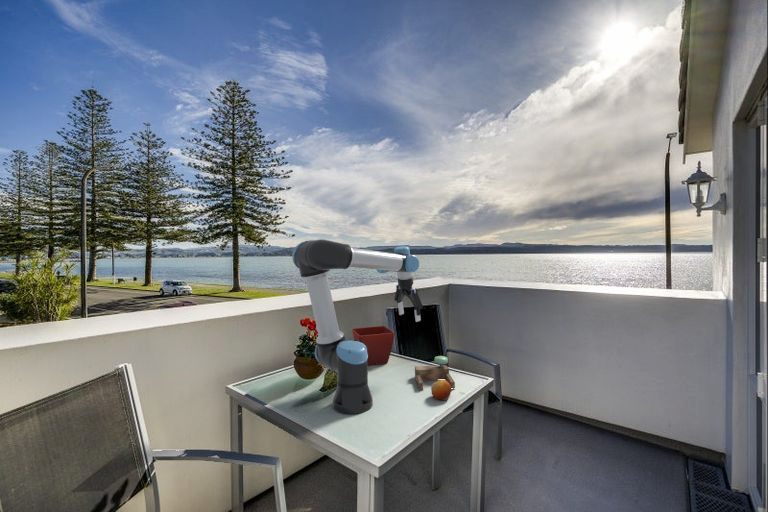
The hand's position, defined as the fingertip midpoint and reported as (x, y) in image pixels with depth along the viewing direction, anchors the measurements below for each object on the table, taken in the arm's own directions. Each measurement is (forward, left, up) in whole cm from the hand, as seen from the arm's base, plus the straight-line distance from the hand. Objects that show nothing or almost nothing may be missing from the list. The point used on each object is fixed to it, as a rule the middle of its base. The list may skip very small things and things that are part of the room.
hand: (409, 317), depth 168 cm
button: (+13, -16, -23) cm, 30 cm away
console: (+8, -16, -25) cm, 31 cm away
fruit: (+8, -36, -26) cm, 45 cm away
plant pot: (-19, +12, -26) cm, 34 cm away
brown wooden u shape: (+8, -23, -25) cm, 35 cm away
